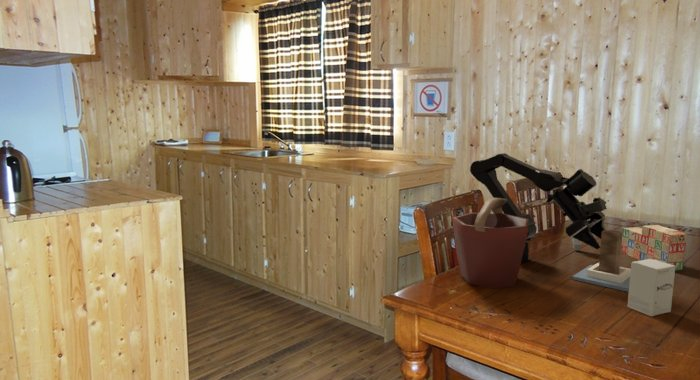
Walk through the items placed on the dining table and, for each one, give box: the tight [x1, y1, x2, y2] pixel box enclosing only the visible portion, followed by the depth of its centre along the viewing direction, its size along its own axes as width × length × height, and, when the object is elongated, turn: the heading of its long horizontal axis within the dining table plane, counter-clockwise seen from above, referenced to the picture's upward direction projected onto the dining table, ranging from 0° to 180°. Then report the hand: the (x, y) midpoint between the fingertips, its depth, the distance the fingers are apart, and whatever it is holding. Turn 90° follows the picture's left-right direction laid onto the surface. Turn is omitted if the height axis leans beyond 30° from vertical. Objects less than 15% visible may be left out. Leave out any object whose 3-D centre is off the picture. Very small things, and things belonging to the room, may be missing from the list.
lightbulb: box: [571, 233, 583, 251], centre depth 189 cm, size 6×6×11 cm
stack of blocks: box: [621, 224, 688, 271], centre depth 176 cm, size 21×6×12 cm, turn 11°
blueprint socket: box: [571, 262, 631, 293], centre depth 159 cm, size 16×16×3 cm
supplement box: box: [627, 259, 676, 317], centre depth 134 cm, size 7×7×13 cm
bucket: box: [452, 197, 528, 289], centre depth 158 cm, size 24×22×25 cm
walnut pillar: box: [598, 228, 623, 275], centre depth 158 cm, size 4×4×14 cm
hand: (604, 245), depth 159 cm, fingers open, 9 cm apart
